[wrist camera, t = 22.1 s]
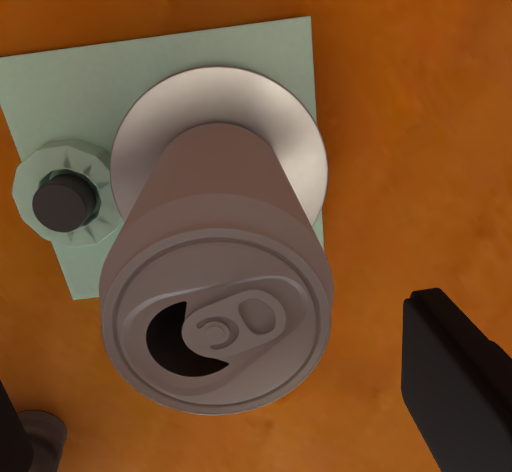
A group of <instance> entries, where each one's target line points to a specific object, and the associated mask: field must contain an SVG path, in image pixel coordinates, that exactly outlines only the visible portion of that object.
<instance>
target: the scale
mask: <svg viewBox="0 0 512 472" xmlns="http://www.w3.org/2000/svg"><path fill="white" fill-rule="evenodd" d="M218 64H219V65H232V66H238V67H242V68H247V69H250V70H253V71H256V72H259V73H261V74H264V75H266V76H267V77H269V78H271V79H273V80H275V81H277V82H278V83H279V84H281V85H282V86H284V87H285V88H286V89H288V90H289V91H290V92H292V93H293V94H294V95H295V96H296V97H297V98H298V99H299V100H300V101H301V102H302V103H303V105H304V106H305V107H306V109H307V110H308V111H309V112H310V114H311V115H312V117H313V119H314V121H315V122H316V124H317V116H316V99H315V81H314V64H313V46H312V29H311V17H310V16H304V17H297V18H289V19H282V20H274V21H267V22H260V23H252V24H245V25H237V26H230V27H222V28H215V29H207V30H200V31H192V32H185V33H178V34H170V35H163V36H155V37H148V38H140V39H133V40H125V41H118V42H110V43H103V44H96V45H88V46H81V47H73V48H66V49H58V50H51V51H43V52H36V53H28V54H21V55H14V56H6V57H0V105H1V108H2V111H3V113H4V116H5V119H6V121H7V124H8V127H9V129H10V132H11V135H12V138H13V140H14V143H15V146H16V148H17V151H18V154H19V156H20V159H21V162H22V163H20V164H19V165H18V166H17V168H16V173H15V178H14V183H13V188H12V196H13V198H14V201H15V203H16V206H17V208H18V211H19V213H20V216H21V218H22V220H23V221H24V222H25V223H26V224H27V225H29V226H30V227H31V228H32V229H33V230H34V231H35V232H36V233H38V234H39V235H40V236H41V237H42V238H44V239H45V240H49V241H51V242H52V245H53V248H54V250H55V253H56V256H57V258H58V261H59V264H60V266H61V269H62V272H63V275H64V277H65V280H66V283H67V285H68V288H69V291H70V293H71V296H72V299H73V300H78V299H85V298H92V297H99V280H100V275H101V271H102V267H103V264H104V262H105V259H106V257H107V255H108V253H109V251H110V249H111V247H112V245H113V243H114V241H115V240H116V238H117V236H118V234H119V232H120V230H121V228H122V227H123V225H124V221H123V219H122V217H121V215H120V213H119V211H118V208H117V206H116V203H115V200H114V197H113V193H112V188H111V182H110V155H111V151H112V146H113V141H114V138H115V136H116V133H117V130H118V128H119V126H120V124H121V122H122V120H123V118H124V116H125V115H126V113H127V112H128V111H129V109H130V108H131V107H132V105H133V104H134V102H135V101H136V100H137V99H138V98H139V97H140V96H141V95H142V94H143V93H144V92H145V91H147V90H148V89H150V88H151V87H152V86H154V85H155V84H156V83H158V82H159V81H161V80H163V79H165V78H167V77H168V76H170V75H172V74H174V73H177V72H180V71H183V70H185V69H188V68H193V67H198V66H203V65H218ZM60 174H73V175H76V176H79V177H81V178H83V179H84V180H86V181H87V182H88V183H89V184H90V185H91V187H92V188H93V190H94V192H95V195H96V206H95V209H94V211H93V212H92V213H91V215H90V216H89V217H88V219H87V220H86V221H85V223H84V224H83V225H82V226H81V227H80V228H78V229H77V230H75V231H72V232H65V233H63V232H56V231H53V230H50V229H48V228H47V227H45V226H44V225H42V224H41V223H40V222H39V221H38V219H37V218H36V216H35V214H34V212H33V208H32V200H33V196H34V194H35V193H36V191H37V190H38V189H39V188H40V187H42V186H43V185H44V184H45V183H47V182H48V181H49V180H50V179H52V178H53V177H55V176H57V175H60ZM312 228H313V230H314V232H315V234H316V236H317V238H318V240H319V242H320V244H321V246H322V248H323V250H324V238H323V221H322V209H321V212H320V214H319V216H318V218H317V220H316V222H315V224H314V225H313V227H312Z"/></svg>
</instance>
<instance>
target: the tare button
mask: <svg viewBox="0 0 512 472" xmlns="http://www.w3.org/2000/svg"><path fill="white" fill-rule="evenodd" d="M95 206H96V195H95V192H94V190H93V188H92V187H91V185H90V184H89V183H88V182H87V181H86V180H84V179H83V178H81V177H79V176H76V175H73V174H60V175H57V176H55V177H53V178H52V179H50V180H49V181H48V182H47V183H45V184H44V185H43V186H42V187H40V188H39V189H38V190H37V191H36V193H35V194H34V196H33V200H32V208H33V212H34V214H35V216H36V218H37V219H38V221H39V222H40V223H41V224H42V225H44V226H45V227H47V228H48V229H50V230H53V231H56V232H63V233H65V232H72V231H75V230H77V229H78V228H80V227H81V226H82V225H83V224H84V223H85V221H86V220H87V219H88V217H89V216H90V215H91V213H92V212H93V211H94V209H95Z"/></svg>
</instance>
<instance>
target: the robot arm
mask: <svg viewBox="0 0 512 472" xmlns="http://www.w3.org/2000/svg"><path fill="white" fill-rule="evenodd" d="M401 391H402V396H403V399H404V402H405V404H406V406H407V408H408V410H409V412H410V414H411V416H412V417H413V419H414V421H415V423H416V425H417V427H418V429H419V431H420V432H421V434H422V436H423V438H424V440H425V442H426V444H427V446H428V447H429V449H430V451H431V453H432V455H433V457H434V459H435V460H436V462H437V464H438V466H439V468H440V470H441V472H512V359H511V358H510V357H509V356H508V355H507V354H506V353H505V351H504V350H503V349H502V348H501V347H500V346H498V345H497V344H496V343H495V342H493V341H490V340H488V338H487V337H486V336H485V335H484V334H483V333H482V332H481V331H480V330H479V329H478V328H477V327H476V326H475V325H474V324H473V323H472V322H471V321H470V319H469V318H468V317H467V316H466V315H465V314H464V313H463V312H462V311H461V310H460V309H459V308H458V307H457V306H456V305H455V304H454V303H453V302H452V300H451V299H450V298H449V297H448V296H447V295H446V294H445V293H444V292H443V291H442V290H441V289H439V288H432V289H425V290H419V291H413V292H412V293H411V296H410V298H409V299H405V300H404V304H403V338H402V375H401ZM33 457H34V450H33V446H32V444H31V442H30V440H29V438H28V436H27V433H26V431H25V429H24V427H23V425H22V423H21V421H20V419H19V417H18V415H17V413H16V411H15V409H14V407H13V405H12V403H11V401H10V399H9V397H8V395H7V393H6V391H5V389H4V386H3V384H2V382H1V380H0V472H28V471H29V469H30V467H31V465H32V462H33Z"/></svg>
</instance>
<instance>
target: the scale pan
mask: <svg viewBox="0 0 512 472" xmlns="http://www.w3.org/2000/svg"><path fill="white" fill-rule="evenodd" d="M210 123H226V124H232V125H236V126H240V127H242V128H245V129H247V130H249V131H251V132H253V133H254V134H256V135H257V136H259V137H260V138H261V139H263V140H264V141H265V142H266V143H267V144H268V145H269V146H270V147H271V149H272V150H273V151H274V153H275V154H276V156H277V158H278V160H279V162H280V164H281V166H282V168H283V170H284V172H285V174H286V176H287V178H288V180H289V182H290V184H291V186H292V188H293V190H294V192H295V194H296V196H297V198H298V200H299V202H300V204H301V206H302V208H303V210H304V212H305V214H306V216H307V218H308V220H309V222H310V224H311V226H312V227H313V225H314V224H315V222H316V220H317V218H318V216H319V214H320V212H321V209H322V207H323V204H324V200H325V197H326V193H327V186H328V172H329V167H328V158H327V152H326V148H325V144H324V140H323V138H322V135H321V133H320V130H319V128H318V126H317V124H316V122H315V121H314V119H313V117H312V115H311V114H310V112H309V111H308V110H307V109H306V107H305V106H304V105H303V103H302V102H301V101H300V100H299V99H298V98H297V97H296V96H295V95H294V94H293V93H292V92H290V91H289V90H288V89H286V88H285V87H284V86H282V85H281V84H279V83H278V82H277V81H275V80H273V79H271V78H269V77H267V76H266V75H264V74H261V73H259V72H256V71H253V70H250V69H247V68H242V67H238V66H232V65H219V64H218V65H203V66H198V67H193V68H188V69H185V70H183V71H180V72H177V73H174V74H172V75H170V76H168V77H167V78H165V79H163V80H161V81H159V82H158V83H156V84H155V85H154V86H152V87H151V88H150V89H148V90H147V91H145V92H144V93H143V94H142V95H141V96H140V97H139V98H138V99H137V100H136V101H135V102H134V104H133V105H132V107H131V108H130V109H129V111H128V112H127V113H126V115H125V116H124V118H123V120H122V122H121V124H120V126H119V128H118V130H117V133H116V136H115V138H114V141H113V146H112V151H111V155H110V182H111V188H112V193H113V197H114V200H115V203H116V206H117V208H118V211H119V213H120V215H121V217H122V219H123V221H124V223H125V221H126V219H127V217H128V215H129V214H130V212H131V210H132V208H133V206H134V204H135V202H136V201H137V199H138V197H139V195H140V193H141V191H142V189H143V187H144V186H145V184H146V182H147V180H148V178H149V176H150V174H151V173H152V171H153V169H154V167H155V165H156V163H157V161H158V160H159V158H160V156H161V154H162V153H163V151H164V150H165V148H166V147H167V146H168V145H169V144H170V143H171V142H172V141H173V140H174V139H175V138H176V137H177V136H179V135H180V134H182V133H183V132H185V131H187V130H189V129H191V128H194V127H197V126H200V125H204V124H210Z"/></svg>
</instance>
